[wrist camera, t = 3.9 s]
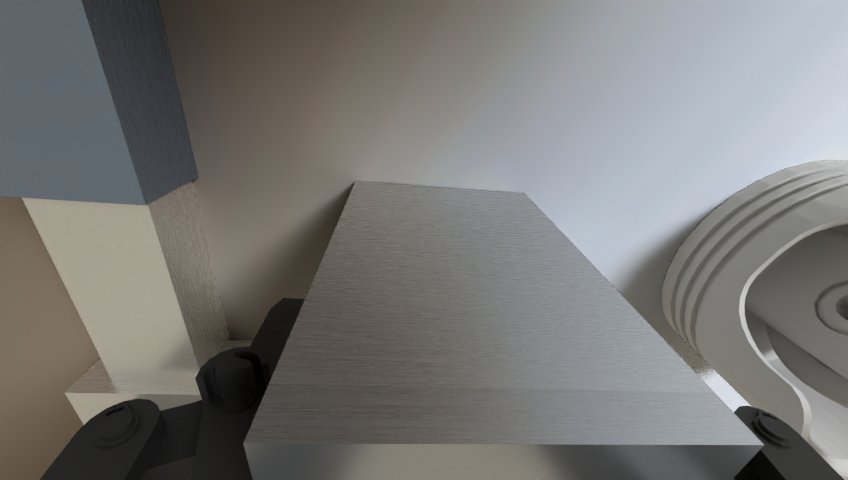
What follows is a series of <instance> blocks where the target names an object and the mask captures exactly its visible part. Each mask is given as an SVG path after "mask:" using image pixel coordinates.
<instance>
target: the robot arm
mask: <svg viewBox="0 0 848 480" xmlns="http://www.w3.org/2000/svg"><path fill="white" fill-rule="evenodd" d="M304 301H305V299H290V298H283V299H282V300H281V301H279V302H278V303H277V304H276V305H275V306H273V307H272V308H271V309H270V311H269V313H268V315H267V316H266V318H265V320H264V323H263V324H262V325H261V327H260V329H259V331H258V334H256V336H255V338H254V340H253V342H252V343H251V345H250V347H235V348H232V349H229V350H226V351H222V352H221V353H219V354H217V355H215V356H214V357H212V358H210V359H209V360H208V361H207V362H206V363H205V364H204V365H203V366H202V367H201V368H200V370H199V372H198V374H197V376H196V378H195V379H196V383H197V386H198V389H199V392H200V395H201V398H202V400H199V401H196V402H193V403H190V404H186V405H181V406H177V407H173V408H169V409H165V410H161V411H160V409H159V407H158V405H157V404H155V403H154V402H153V401H151V400H148V399H133V400H128V401H123V402H120V403H118V404H116V405H113V406H111V407H108V408H106V409H105V410H103V411H102V412H100V413H99V414H97V415H95V416H94V417H92V418H91V419H90V420H89V421H88V422H87V423H86V424H85V425H84V426H83V427H82V428H81V429H80V430H79V431H78V432H77V433H76V434H75V435H74V437H73V438H72V439H71V440H70V442H69V443H68V444H67V446H66V447H65V448H64V449H63V451H62V452H61V453H60V454H59V456H58V457H57V458H56V460H55V461H54V462H53V463H52V465H51V466H50V467H49V468H48V470H47V471H46V472H45V474H44V475H43V476H42V477H41V479H40V480H253V479H252V475H251V471H250V467H249V464H248V460H247V456H246V452H245V448H244V445H243V443H244V441H245V438H246V436H247V434H248V431H249V429H250V427H251V424H252V422H253V420H254V417H255V415H256V413H257V410H258V408H259V406H260V403H261V401H262V399H263V396H264V394H265V392H266V389H267V387H268V385H269V382H270V380H271V378H272V375H273V373H274V371H275V368H276V366H277V364H278V361H279V359H280V357H281V354H282V352H283V350H284V347H285V345H286V343H287V340H288V338H289V336H290V333H291V331H292V329H293V326H294V324H295V322H296V319H297V317H298V315H299V312H300V310H301V308H302V305H303V303H304ZM734 414H735V415H736V416H737V417H738V418H739V419H740V420H741V421H742V422H743V423H744V424H745V425H746V426H747V427H748V428H749V429H750V430H751V431H752V433H753V434H754V435H755V436H756V437H757V438H758V439H759V440H760V441H761V442H762V443H763V444H764V446H763V447H762V448H761V449H760V450H759V451H758V452H757V453H756V455H755V456H754V457H753V458H752V459H751V460H750V461H749V462H748V463H747V464H746V465H745V466H744V467H743V468H742V469H741V471H740V472H739V473H738V474H737V475H736V476H735V477H734V478H733V479H732V480H844V479H843V478H842V477H841V476H840V475H839V474H838V473H837V472H836V471H835V470H834V469H833V468H832V467H831V466H830V465H829V464H828V463H827V462H826V461H825V460H824V459H823V458H822V457H821V456H820V455H819V454H818V453H817V451H816V450H815V449H814V448H813V447H812V446H811V445H810V444H809V443H808V442H807V441H806V440H805V439H804V438H803V437H802V436H801V435H800V434H799V433H797V432H796V431H795V430H794V429H793V428H792V427H790V426H789V425H788V424H787V423H785V422H784V421H782V420H780V419H779V418H777V417H776V416H774V415H772V414H770V413H768V412H766V411H764V410H761V409H759V408H754V407H750V406H741V407H739V408H738V409H737V410H736V411H735V412H734Z"/></svg>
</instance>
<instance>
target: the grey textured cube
mask: <svg viewBox="0 0 848 480" xmlns="http://www.w3.org/2000/svg"><path fill="white" fill-rule="evenodd" d="M243 445H244V448H245V452H246V456H247V460H248V464H249V467H250V471H251V475H252V479H253V480H732V479H733V478H734V477H735V476H736V475H737V474H738V473H739V472H740V471H741V469H742V468H743V467H744V466H745V465H746V464H747V463H748V462H749V461H750V460H751V459H752V458H753V457H754V456H755V455H756V453H757V452H758V451H759V450H760V449H761V448H762V447H763V446H764V444H763V443H762V442H761V441H760V440H759V439H758V438H757V437H756V436H755V435H754V434H753V433H752V431H751V430H750V429H749V428H748V427H747V426H746V425H745V424H744V423H743V422H742V421H741V420H740V419H739V418H738V417H737V416H736V415H735V414H734V413H733V412H732V410H731V409H730V408H729V407H728V406H727V405H726V404H725V403H724V402H723V401H722V400H721V399H720V398H719V397H718V396H717V395H716V394H715V393H714V392H713V390H712V389H711V388H710V387H709V386H708V385H707V384H706V383H705V382H704V381H703V380H702V379H701V378H700V377H699V376H698V375H697V374H696V373H695V372H694V371H693V369H692V368H691V367H690V366H689V365H688V364H687V363H686V362H685V361H684V360H683V359H682V358H681V357H680V356H679V355H678V354H677V353H676V352H675V351H674V349H673V348H672V347H671V346H670V345H669V344H668V343H667V342H666V341H665V340H664V339H663V338H662V337H661V336H660V335H659V334H658V333H657V332H656V331H655V330H654V328H653V327H652V326H651V325H650V324H649V323H648V322H647V321H646V320H645V319H644V318H643V317H642V316H641V315H640V314H639V313H638V312H637V311H636V310H635V308H634V307H633V306H632V305H631V304H630V303H629V302H628V301H627V300H626V299H625V298H624V297H623V296H622V295H621V294H620V293H619V292H618V291H617V290H616V289H615V287H614V286H613V285H612V284H611V283H610V282H609V281H608V280H607V279H606V278H605V277H604V276H603V275H602V274H601V273H600V272H599V271H598V270H597V269H596V267H595V266H594V265H593V264H592V263H591V262H590V261H589V260H588V259H587V258H586V257H585V256H584V255H583V254H582V253H581V252H580V251H579V250H578V249H577V248H576V246H575V245H574V244H573V243H572V242H571V241H570V240H569V239H568V238H567V237H566V236H565V235H564V234H563V233H562V232H561V231H560V230H559V229H558V228H557V227H556V225H555V224H554V223H553V222H552V221H551V220H550V219H549V218H548V217H547V216H546V215H545V214H544V213H543V212H542V211H541V210H540V209H539V208H538V207H537V205H536V204H535V203H534V202H533V201H532V200H531V199H530V198H529V197H528V196H527V195H526V194H525V193H511V192H498V191H484V190H470V189H456V188H442V187H428V186H414V185H401V184H387V183H373V182H359V181H355V184H354V186H353V188H352V191H351V193H350V195H349V198H348V200H347V202H346V205H345V207H344V209H343V212H342V214H341V216H340V219H339V221H338V223H337V226H336V228H335V230H334V233H333V235H332V237H331V240H330V242H329V244H328V247H327V249H326V251H325V254H324V256H323V258H322V261H321V263H320V265H319V268H318V270H317V272H316V275H315V277H314V279H313V282H312V284H311V286H310V289H309V291H308V293H307V296H306V298H305V301H304V303H303V305H302V308H301V310H300V312H299V315H298V317H297V319H296V322H295V324H294V326H293V329H292V331H291V333H290V336H289V338H288V340H287V343H286V345H285V347H284V350H283V352H282V354H281V357H280V359H279V361H278V364H277V366H276V368H275V371H274V373H273V375H272V378H271V380H270V382H269V385H268V387H267V389H266V392H265V394H264V396H263V399H262V401H261V403H260V406H259V408H258V410H257V413H256V415H255V417H254V420H253V422H252V424H251V427H250V429H249V431H248V434H247V436H246V438H245V441H244V443H243Z"/></svg>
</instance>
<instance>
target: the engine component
mask: <svg viewBox="0 0 848 480" xmlns="http://www.w3.org/2000/svg"><path fill="white" fill-rule="evenodd" d="M662 308H663V312H664V314H665V317H666V319H667V322H668V323H669V324H670V326H671V327H672V328H673V329H674V330H675V331H676V333H677V334H678V335H679V336H680V337H682V338H683V339H684V340H685V341H686V342H687V343H688V344H689V345H690V346H691V347H692V348H693V349H694V350H695V351H696V352H697V353H698V354H699V355H700V356H701V357H702V358H704V359H705V360H706V361H707V362H708V364H709V365H710V366H711V367H712V368H713V369H714V370H715V371H716V372H717V373H718V374H719V375H720V376H721V377H722V378H723V379H724V380H725V381H727V382H728V383H729V384H730V385H731V386H732V387H733V388H734V389H735V390H736V391H737V392H738V393H739V394H740V395H741V396H742V397H743V398H744V399H745V400H746V401H747V402H748V403H749V404H750V405H751V406H752V407H754V408H759V409H761V410H764V411H766V412H768V413H770V414H772V415H774V416H776V417H777V418H779V419H780V420H782V421H784V422H785V423H787V424H788V425H789V426H790V427H792V428H793V429H794V430H795V431H796V432H797V433H799V434H800V435H801V436H802V437H803V438H804V439H805V440H806V441H807V442H808V443H809V444H810V445H811V446H812V447H813V448H814V449H815V450H816V451H817V453H818V454H819V455H820V456H821V457H822V458H823V459H824V460H825V461H826V462H827V463H828V464H829V465H830V466H831V467H832V468H833V469H834V470H835V471H836V472H837V473H838V474H839V475H840V476H848V161H847V160H823V161H813V162H809V163H805V164H801V165H797V166H793V167H789V168H786V169H783V170H781V171H779V172H776V173H774V174H771V175H769V176H767V177H764V178H762V179H760V180H758V181H756V182H754V183H753V184H751V185H749V186H748V187H746V188H744V189H742V190H741V191H739V192H737V193H736V194H734V195H733V196H731V197H730V198H729V199H727V200H726V201H725V202H723V203H722V204H721V205H719V206H718V207H717V208H715V209H714V210H713V211H712V212H711V213H710V214H709V215H708V216H707V217H705V218H704V219H703V220H702V221H701V222H700V223H699V224H698V226H697V227H696V228H695V229H694V230H693V231H692V232H691V233H690V235H689V236H688V237H687V238H686V240H685V241H684V242H683V244H682V245H681V246H680V248H679V249H678V251H677V253H676V255H675V256H674V258H673V260H672V262H671V264H670V266H669V268H668V270H667V273H666V277H665V280H664V283H663V287H662Z"/></svg>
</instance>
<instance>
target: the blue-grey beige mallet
mask: <svg viewBox="0 0 848 480" xmlns="http://www.w3.org/2000/svg"><path fill="white" fill-rule="evenodd" d="M196 178H198V174H197V169H196V165H195V160H194V156H193V151H192V147H191V143H190V138H189V134H188V129H187V125H186V121H185V116H184V112H183V107H182V103H181V99H180V94H179V90H178V85H177V81H176V77H175V72H174V68H173V63H172V59H171V55H170V50H169V46H168V41H167V37H166V33H165V28H164V24H163V19H162V15H161V11H160V6H159V2H158V0H0V196H2V197H18V198H22V200H23V202H24V204H25V206H26V208H27V210H28V212H29V214H30V216H31V218H32V220H33V222H34V224H35V226H36V228H37V230H38V232H39V234H40V236H41V238H42V240H43V242H44V244H45V246H46V248H47V250H48V252H49V254H50V256H51V258H52V260H53V262H54V264H55V266H56V268H57V270H58V272H59V275H60V277H61V279H62V281H63V283H64V285H65V287H66V289H67V291H68V293H69V295H70V297H71V299H72V301H73V303H74V305H75V307H76V309H77V311H78V313H79V315H80V317H81V319H82V321H83V323H84V325H85V327H86V329H87V331H88V333H89V335H90V337H91V339H92V341H93V343H94V345H95V348H96V350H97V352H98V354H99V356H100V359H99V360H98V361H97V362H96V363H95V364H94V365H93V366H92V367H91V368H90V369H89V370H88V371H86V372H85V373H84V374H83V375H82V376H81V377H80V378H79V379H78V380H77V381H76V382H75V383H74V384H73V385H72V386H71V387H70V388H69V389H68V390H67V391H66V392H65V394H66V396H67V398H68V399H69V401H70V403H71V404H72V406H73V408H74V409H75V411H76V413H77V414H78V416H79V418H80V419H81V421H82V423H83V424H84V425H85V424H86V423H87V422H88V421H89V420H90V419H91V418H92V417H94V416H95V415H97V414H99V413H100V412H102V411H103V410H105V409H106V408H108V407H111V406H113V405H116V404H118V403H120V402H123V401H128V400H133V399H148V400H151V401H153V402H154V403H155V404H157V405H158V407H159V409H160V411H161V410H165V409H169V408H173V407H177V406H181V405H186V404H190V403H193V402H196V401H199V400H202V398H201V395H200V392H199V389H198V386H197V383H196V379H195V378H196V376H197V374H198V372H199V370H200V368H201V367H202V366H203V365H204V364H205V363H206V362H207V361H208V360H209V359H210V358H212V357H214V356H215V355H217V354H219V353H221V352H222V351H226V350H229V349H232V348H235V347H250V345H251V343H252V342H253V341H249V340H230V338H229V334H228V330H227V326H226V322H225V317H224V313H223V309H222V305H221V301H220V296H219V292H218V288H217V284H216V279H215V275H214V271H213V267H212V263H211V258H210V254H209V250H208V246H207V241H206V237H205V233H204V229H203V225H202V220H201V216H200V212H199V208H198V204H197V199H196V195H195V191H194V187H193V182H192V181H193V180H195V179H196Z"/></svg>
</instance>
